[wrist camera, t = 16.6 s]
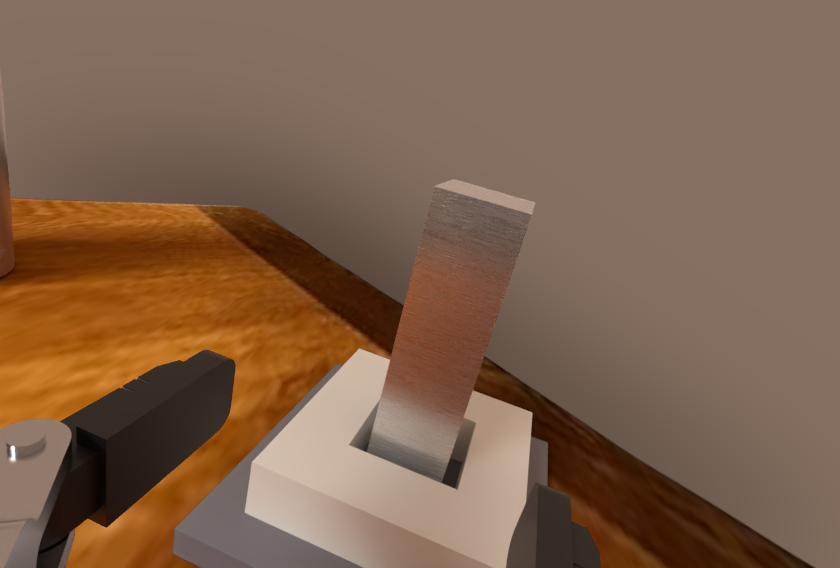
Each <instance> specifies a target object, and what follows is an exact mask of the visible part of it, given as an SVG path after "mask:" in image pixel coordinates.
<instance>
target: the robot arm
mask: <svg viewBox="0 0 840 568" xmlns="http://www.w3.org/2000/svg"><path fill="white" fill-rule="evenodd" d="M14 266H15V260H14V245H13V230H12V212H11V199H10V186H9V172H8V158H7V145H6V132H5V117H4V105H3V92H2V81H1V66H0V277H1V276H4V275H6V274H7V273H9V272H10V271H11V270H12V269H13V268H14ZM234 375H235V362H234V360H232V359H230V358H227V357H225V356H222V355H220V354H217V353H215V352H212V351H210V350H203V351H201V352H199V353H198V354H196V355H194V356H192V357H191V358H189V359H187V360H186V361H184V362H183V361H180V360H179V361H175V362H171V363H168V364H164V365H161V366H157V367H155V368H153V369H152V370H150V371H148V372H146V373H145V374H143V375H141V376H139V377H138V379H137V380H136V379H134V380H132V381H130V382H129V383H127V384H125V385H123V387H122V388H121V389H120V388H118V389H116V390H115V391H113V392H111V393H109V394H108V395H106V396H104V397H102V398H100V399H99V400H97V401H95V402H93V403H92V404H90V405H88V406H86V407H85V408H83V409H81V410H79V411H78V412H76V413H74V414H72V415H71V416H69V417H67V418H65V419H63V420H62V421H60V422H59V421H55V420H49V419H34V420H27V421H22V422H18V423H14V424H11V425H8V426H6V427H4V428H1V429H0V568H65V566H66V563H67V559H68V556H69V553H70V550H71V547H72V544H73V541H74V536H75V528H76V527H77V526H79V525H80V524H81V523H82V522H84V521H85V520H86V519H87V518H88V519H90V520H92V521H94V522H96V523H98V524H100V525H102V526H104V527H106V528H107V527H108V526H109V525H110V524H111V523H112V522H114V521H115V520H116V519H117V518H118V517H119V516H121V515H122V514H123V513H124V512H125V511H126V510H127V509H129V508H130V507H131V506H132V505H133V504H134V503H136V502H137V501H138V500H139V499H140V498H141V497H143V496H144V495H145V494H146V493H147V492H148V491H149V490H151V489H152V488H153V487H154V486H155V485H156V484H158V483H159V482H160V481H161V480H162V479H163V478H164V477H166V476H167V475H168V474H169V473H170V472H171V471H173V470H174V469H175V468H176V467H177V466H178V465H180V464H181V463H182V462H183V461H184V460H185V459H186V458H188V457H189V456H190V455H191V454H192V453H193V452H195V451H196V450H197V449H198V448H199V447H200V446H202V445H203V444H204V443H205V442H206V441H207V440H208V439H210V438H211V437H212V436H213V435H214V434H215V433H217V432H218V431H219V430H220V428H221V427H222V426H223V424H224V423H225V421H226V419H227V417H228V415H229V412H230V408H231V401H232V392H233V384H234ZM506 568H600V559H599V551H598V549H597V547H596V545H595V543H594V541H593V539H592V537H591V535H590V533H589V531H588V529H587V528H586V527H583V526H581V525H578V524H576V523H574V522H571V511H570V497H569V495H568V494H565V493H563V492H560V491H558V490H555V489H553V488H550V487H548V486H545V485H543V484H540V483H538V482H536V483H535V485H534V486H533V488H532V490H531V493H530V495H529V497H528V500H527V502H526V504H525V506H524V509H523V511H522V513H521V516H520V518H519V520H518V522H517V525H516V527H515V529H514V532H513V535H512V538H511V542H510V546H509V550H508V555H507V563H506Z"/></svg>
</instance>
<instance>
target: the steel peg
mask: <svg viewBox="0 0 840 568" xmlns="http://www.w3.org/2000/svg"><path fill="white" fill-rule="evenodd" d="M534 205H535V202H532V201H528V200H525V199H521V198H518V197H514V196H511V195H507V194H504V193H500V192H497V191H493V190H490V189H486V188H483V187H480V186H476V185H472V184H469V183H466V182H462V181H459V180H455V179H453V180H450V181H447V182H445V183H442V184H439V185H436V186H434V189H433V193H432V197H431V201H430V205H429V209H428V213H427V217H426V221H425V225H424V229H423V232H422V237H421V241H420V244H419V248H418V252H417V257H416V260H415V264H414V268H413V272H412V276H411V280H410V284H409V288H408V292H407V296H406V299H405V303H404V307H403V311H402V315H401V319H400V323H399V327H398V331H397V335H396V339H395V343H394V347H393V351H392V355H391V359H390V363H389V367H388V370H387V374H386V378H385V382H384V386H383V390H382V394H381V398H380V402H379V406H378V410H377V414H376V418H375V422H374V426H373V430H372V434H371V437H370V441H369V445H368V449H367V453H370V454H372V455H374V456H377V457H379V458H382V459H384V460H387V461H389V462H391V463H394V464H396V465H399V466H401V467H404V468H406V469H408V470H411V471H413V472H416V473H418V474H421V475H423V476H425V477H428V478H430V479H433V480H435V481H437V482H440V483H442V480H443V477H444V474H445V471H446V468H447V465H448V462H449V459H450V456H451V453H452V450H453V447H454V444H455V442H456V439H457V436H458V433H459V430H460V427H461V424H462V421H463V418H464V415H465V412H466V409H467V406H468V403H469V400H470V397H471V394H472V391H473V388H474V385H475V382H476V379H477V376H478V373H479V370H480V367H481V364H482V361H483V358H484V355H485V352H486V349H487V346H488V343H489V340H490V337H491V334H492V331H493V328H494V325H495V323H496V320H497V317H498V313H499V311H500V308H501V305H502V301H503V299H504V296H505V293H506V290H507V287H508V284H509V281H510V278H511V275H512V272H513V269H514V266H515V263H516V260H517V257H518V254H519V251H520V248H521V245H522V242H523V239H524V236H525V233H526V230H527V227H528V224H529V221H530V218H531V215H532V212H533V208H534Z"/></svg>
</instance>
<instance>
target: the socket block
mask: <svg viewBox="0 0 840 568" xmlns="http://www.w3.org/2000/svg"><path fill="white" fill-rule="evenodd" d="M389 363H390V360H389V359H386V358H384V357H381V356H378V355H375V354H373V353H370V352H367V351H365V350H362V349H358V350H357V351H356V353H355V354H354V355H353V356H352V357H351V358H350V359H349V360H348V361H347V362H346V363H345V364H344V365H342V364H339V363H337V364H336V365H335V366H334V367H333V368H332V369H331V370H330V371H329V372H328V373H327V374H326V375H325V376H324V377H323V378H322V379H321V380H320V381H319V382H318V383H317V384H316V385H315V386H314V388H313V389H312V390H311V391H310V392H309V393H308V394H307V395H306V396H305V397H304V398H303V399H302V400H301V401H300V402H299V403H298V404H297V405H296V406H295V407H294V408H293V409H292V410H291V411H290V412H289V413H288V414H287V415H286V416H285V417H284V418H283V419H282V420H281V421H280V422H279V423H278V424H277V425H276V426H275V427H274V428H273V429H272V430H271V431H270V432H269V433H268V434H267V435H266V436H265V437H264V438H263V439H262V440H261V441H260V442H259V443H258V445H257V446H256V447H255V448H254V449H253V450H252V451H251V452H250V453H249V454H248V455H247V456H246V457H245V458H244V459H243V460H242V461H241V462H240V463H239V464H238V465H237V466H236V467H235V468H234V469H233V470H232V471H231V472H230V473H229V474H228V475H227V476H226V477H225V478H224V479H223V480H222V481H221V482H220V483H219V484H218V485H217V486H216V487H215V488H214V489H213V490H212V491H211V492H210V493H209V494H208V495H207V496H206V497H205V498H204V499H203V500H202V501H201V503H200V504H199V505H198V506H197V507H196V508H195V509H194V510H193V511H192V512H191V513H190V514H189V515H188V516H187V517H186V518H185V519H184V520H183V521H182V522H181V523H180V524H179V525H178V526H177V527H176V528H175V530H174V543H173V554H174V555H176V556H178V557H180V558H182V559H184V560H186V561H188V562H190V563H192V564H194V565H196V566H198V567H201V568H506V563H507V555H508V550H509V546H510V542H511V538H512V535H513V532H514V529H515V527H516V525H517V522H518V520H519V518H520V516H521V513H522V511H523V509H524V506H525V504H526V502H527V500H528V497H529V495H530V493H531V490H532V488H533V486H534V485H535V483H536V482H538V483H540V484H543V485H545V486H547V478H548V443H547V442H545V441H542V440H539V439H537V438H534V437H532V436H531V426H532V412H530V411H527V410H524V409H522V408H519V407H516V406H513V405H511V404H508V403H505V402H503V401H500V400H497V399H495V398H492V397H489V396H486V395H484V394H481V393H478V392H476V391H472V394H471V397H470V400H469V403H468V406H467V409H466V412H465V415H464V418H463V421H462V424H461V427H460V430H459V433H458V436H457V439H456V442H455V444H454V447H453V450H452V453H451V456H450V459H449V462H448V465H447V468H446V471H445V474H444V477H443V480H442V483H440V482H437V481H435V480H433V479H430V478H428V477H425V476H423V475H421V474H418V473H416V472H413V471H411V470H408V469H406V468H404V467H401V466H399V465H396V464H394V463H391V462H389V461H387V460H384V459H382V458H379V457H377V456H374V455H372V454H370V453H367V449H368V445H369V441H370V437H371V434H372V430H373V426H374V422H375V418H376V414H377V410H378V406H379V402H380V398H381V394H382V390H383V386H384V382H385V378H386V374H387V370H388V367H389Z"/></svg>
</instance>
